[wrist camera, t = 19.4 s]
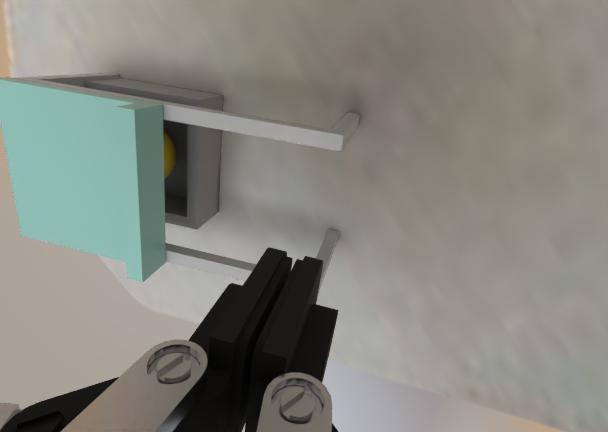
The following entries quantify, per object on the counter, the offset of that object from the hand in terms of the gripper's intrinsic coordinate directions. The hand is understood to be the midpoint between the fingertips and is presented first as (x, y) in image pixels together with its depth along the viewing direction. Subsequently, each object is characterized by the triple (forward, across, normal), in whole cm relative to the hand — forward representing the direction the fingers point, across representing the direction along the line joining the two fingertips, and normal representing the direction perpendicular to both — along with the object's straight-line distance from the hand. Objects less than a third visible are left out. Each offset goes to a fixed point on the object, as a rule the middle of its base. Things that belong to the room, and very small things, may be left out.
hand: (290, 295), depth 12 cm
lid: (+14, +19, +5) cm, 24 cm away
